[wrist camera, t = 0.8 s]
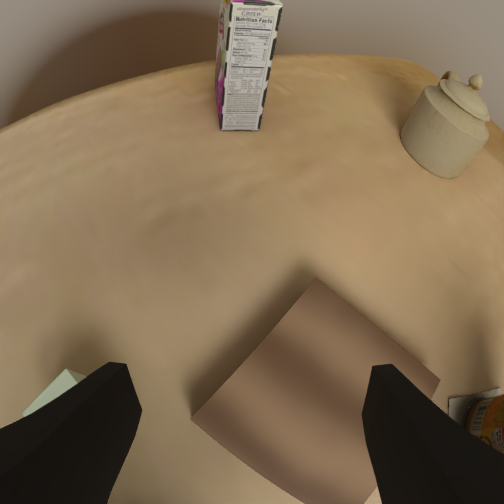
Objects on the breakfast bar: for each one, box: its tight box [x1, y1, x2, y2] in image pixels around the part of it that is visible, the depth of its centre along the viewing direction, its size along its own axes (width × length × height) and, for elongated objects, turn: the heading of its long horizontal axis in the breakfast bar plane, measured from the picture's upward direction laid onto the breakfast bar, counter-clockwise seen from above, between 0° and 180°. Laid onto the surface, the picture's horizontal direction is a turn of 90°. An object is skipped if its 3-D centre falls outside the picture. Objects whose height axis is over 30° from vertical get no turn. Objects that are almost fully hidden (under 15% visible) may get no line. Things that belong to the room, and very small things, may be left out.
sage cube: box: [22, 369, 87, 417], centre depth 17 cm, size 5×5×5 cm
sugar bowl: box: [400, 71, 490, 179], centre depth 34 cm, size 15×11×15 cm
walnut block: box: [190, 278, 440, 504], centre depth 21 cm, size 14×14×3 cm
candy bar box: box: [215, 0, 283, 131], centre depth 30 cm, size 11×5×16 cm, turn 8°
